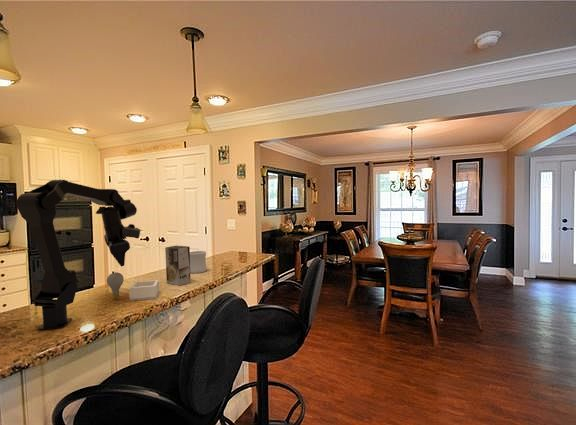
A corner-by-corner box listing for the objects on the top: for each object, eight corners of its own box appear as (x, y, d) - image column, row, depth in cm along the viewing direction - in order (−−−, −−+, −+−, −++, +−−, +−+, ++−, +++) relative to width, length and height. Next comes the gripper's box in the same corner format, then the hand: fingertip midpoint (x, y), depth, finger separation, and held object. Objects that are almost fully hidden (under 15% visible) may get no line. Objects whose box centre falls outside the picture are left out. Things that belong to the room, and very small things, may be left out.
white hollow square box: (156, 298, 112) (155, 285, 112) (130, 301, 110) (129, 288, 109) (159, 291, 120) (158, 279, 120) (135, 293, 118) (134, 281, 118)
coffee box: (191, 282, 134) (190, 246, 133) (179, 286, 128) (178, 248, 128) (178, 279, 139) (177, 244, 138) (165, 283, 133) (164, 246, 132)
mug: (202, 268, 160) (201, 250, 160) (209, 271, 153) (209, 252, 153) (179, 272, 152) (178, 253, 152) (185, 275, 145) (185, 255, 145)
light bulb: (116, 301, 109) (115, 274, 109) (104, 301, 110) (102, 274, 110) (127, 297, 114) (126, 271, 114) (115, 296, 115) (114, 270, 115)
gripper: (141, 223, 108) (148, 263, 112) (131, 214, 123) (138, 250, 126) (106, 230, 102) (115, 272, 105) (100, 220, 116) (108, 257, 120)
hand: (120, 262), depth 114 cm, fingers open, 9 cm apart
